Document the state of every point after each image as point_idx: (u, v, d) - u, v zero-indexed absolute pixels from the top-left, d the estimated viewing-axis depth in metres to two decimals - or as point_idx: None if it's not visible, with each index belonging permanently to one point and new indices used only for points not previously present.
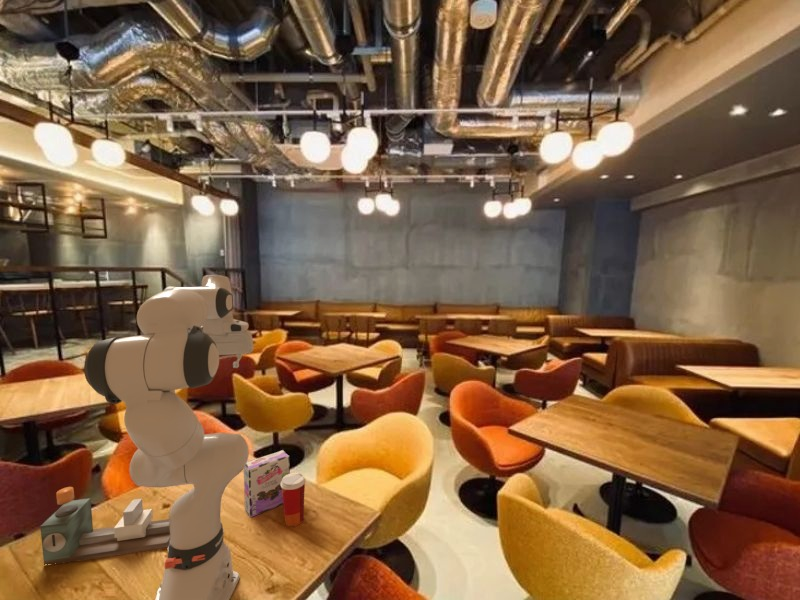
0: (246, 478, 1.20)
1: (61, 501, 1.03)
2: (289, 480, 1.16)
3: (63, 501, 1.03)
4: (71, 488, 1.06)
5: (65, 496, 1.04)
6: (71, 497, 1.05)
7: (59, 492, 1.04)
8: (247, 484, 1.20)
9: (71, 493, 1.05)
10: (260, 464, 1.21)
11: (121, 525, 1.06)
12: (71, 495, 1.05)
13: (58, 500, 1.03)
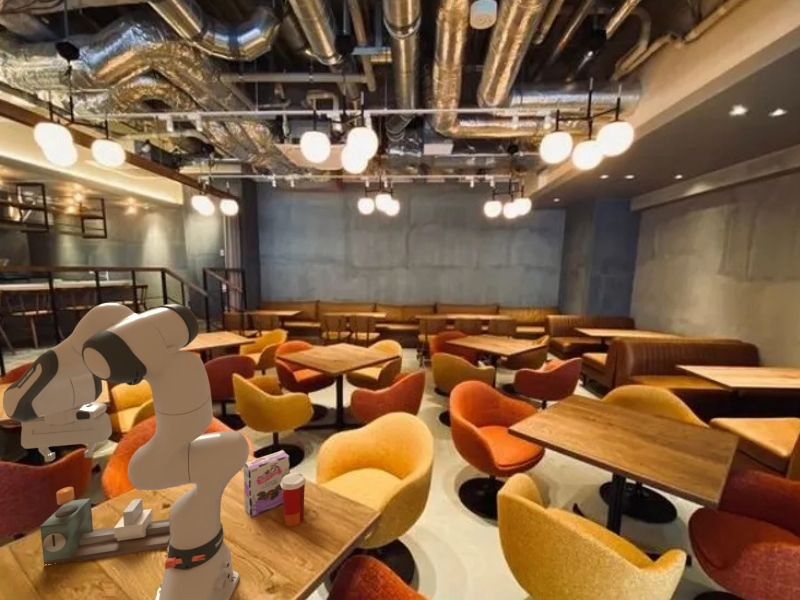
0: (246, 478, 1.20)
1: (61, 501, 1.03)
2: (289, 480, 1.16)
3: (63, 501, 1.03)
4: (71, 488, 1.06)
5: (65, 496, 1.04)
6: (71, 497, 1.05)
7: (59, 492, 1.04)
8: (247, 484, 1.20)
9: (71, 493, 1.05)
10: (260, 464, 1.21)
11: (121, 525, 1.06)
12: (71, 495, 1.05)
13: (58, 500, 1.03)
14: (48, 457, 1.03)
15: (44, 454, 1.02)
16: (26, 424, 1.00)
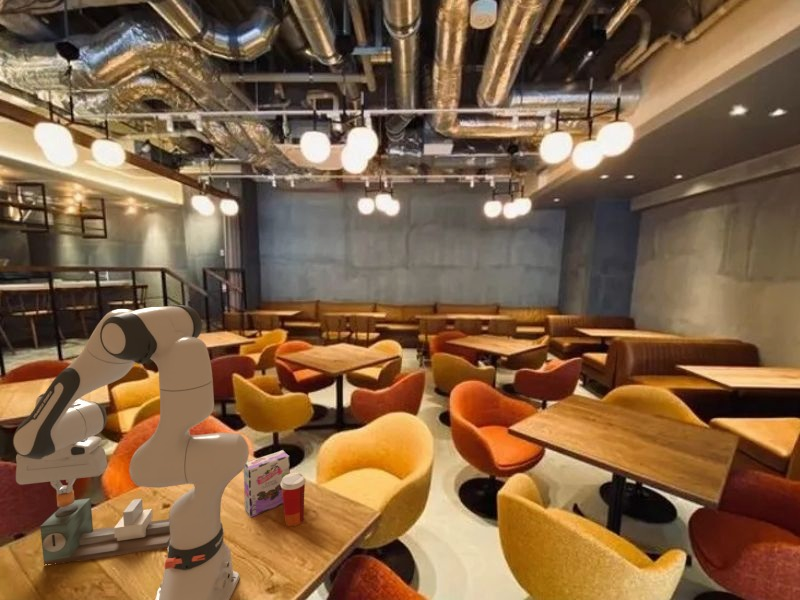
0: (246, 478, 1.20)
1: (61, 504, 1.03)
2: (289, 480, 1.16)
3: (64, 504, 1.04)
4: None
5: (66, 499, 1.04)
6: (71, 500, 1.05)
7: (59, 495, 1.04)
8: (247, 484, 1.20)
9: (71, 496, 1.05)
10: (260, 464, 1.21)
11: (121, 525, 1.06)
12: (71, 498, 1.05)
13: (58, 503, 1.03)
14: (60, 490, 1.04)
15: (56, 487, 1.03)
16: (21, 460, 1.00)
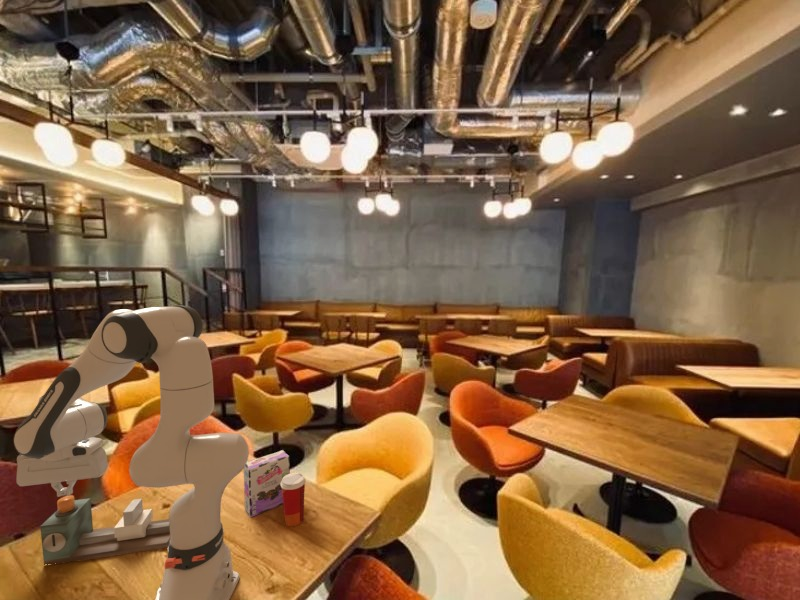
0: (246, 478, 1.20)
1: (62, 510, 1.04)
2: (289, 480, 1.16)
3: (64, 510, 1.04)
4: (72, 496, 1.06)
5: (66, 505, 1.04)
6: (72, 505, 1.05)
7: (60, 501, 1.04)
8: (247, 484, 1.20)
9: (72, 501, 1.05)
10: (260, 464, 1.21)
11: (121, 525, 1.06)
12: (72, 503, 1.05)
13: (59, 509, 1.03)
14: (60, 492, 1.04)
15: (56, 489, 1.03)
16: (22, 461, 1.00)
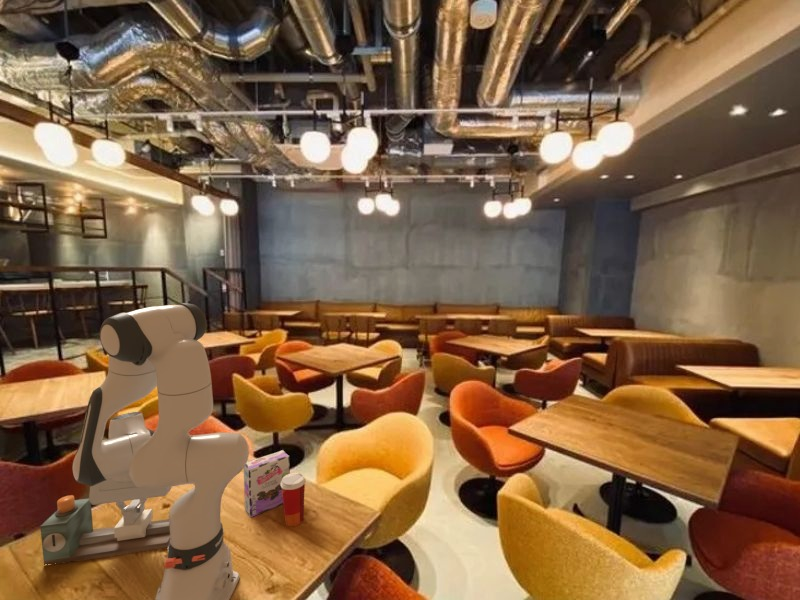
0: (246, 478, 1.20)
1: (62, 510, 1.04)
2: (289, 480, 1.16)
3: (64, 510, 1.04)
4: (72, 496, 1.06)
5: (66, 505, 1.04)
6: (72, 505, 1.05)
7: (60, 501, 1.04)
8: (247, 484, 1.20)
9: (72, 501, 1.05)
10: (260, 464, 1.21)
11: (121, 525, 1.06)
12: (72, 503, 1.05)
13: (59, 509, 1.03)
14: None
15: (120, 508, 1.08)
16: None
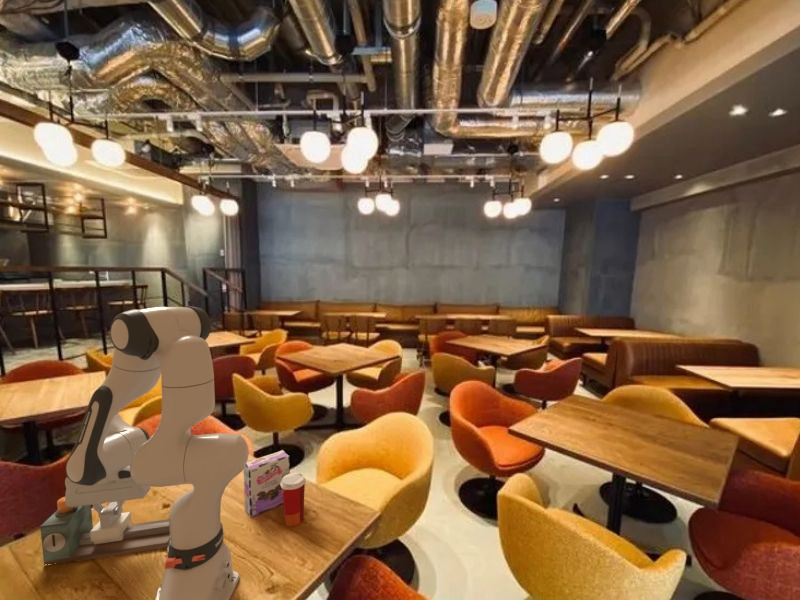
0: (246, 478, 1.20)
1: (62, 510, 1.04)
2: (289, 480, 1.16)
3: (64, 510, 1.04)
4: None
5: None
6: None
7: (60, 501, 1.04)
8: (247, 484, 1.20)
9: None
10: (260, 464, 1.21)
11: (97, 529, 1.05)
12: None
13: (59, 509, 1.03)
14: None
15: (97, 510, 1.06)
16: (70, 484, 1.04)
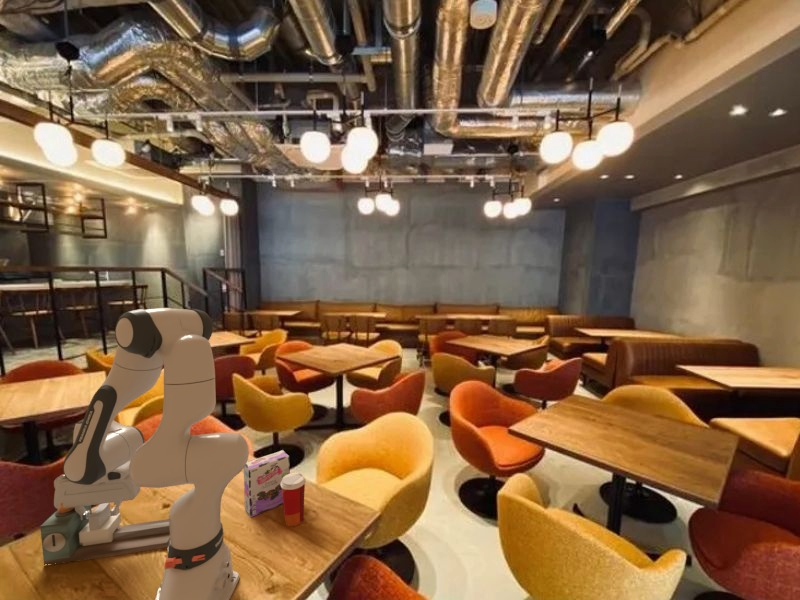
0: (246, 478, 1.20)
1: (62, 510, 1.04)
2: (289, 480, 1.16)
3: (64, 510, 1.04)
4: None
5: None
6: None
7: None
8: (247, 484, 1.20)
9: None
10: (260, 464, 1.21)
11: (86, 530, 1.04)
12: None
13: (59, 509, 1.03)
14: (84, 516, 1.06)
15: (80, 513, 1.05)
16: (59, 485, 1.03)
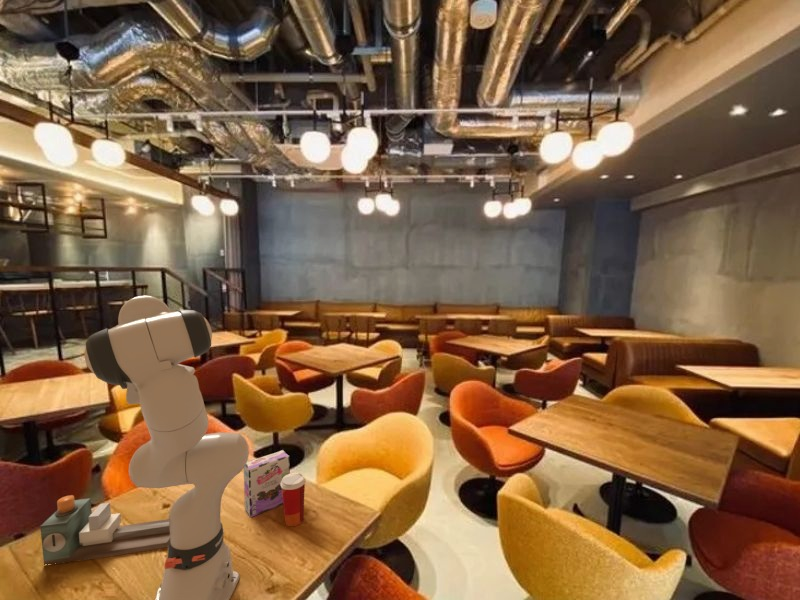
0: (246, 478, 1.20)
1: (62, 510, 1.04)
2: (289, 480, 1.16)
3: (64, 510, 1.04)
4: (72, 496, 1.06)
5: (66, 505, 1.04)
6: (72, 505, 1.05)
7: (60, 501, 1.04)
8: (247, 484, 1.20)
9: (72, 501, 1.05)
10: (260, 464, 1.21)
11: (86, 530, 1.04)
12: (72, 503, 1.05)
13: (59, 509, 1.03)
14: None
15: None
16: (131, 382, 1.16)
